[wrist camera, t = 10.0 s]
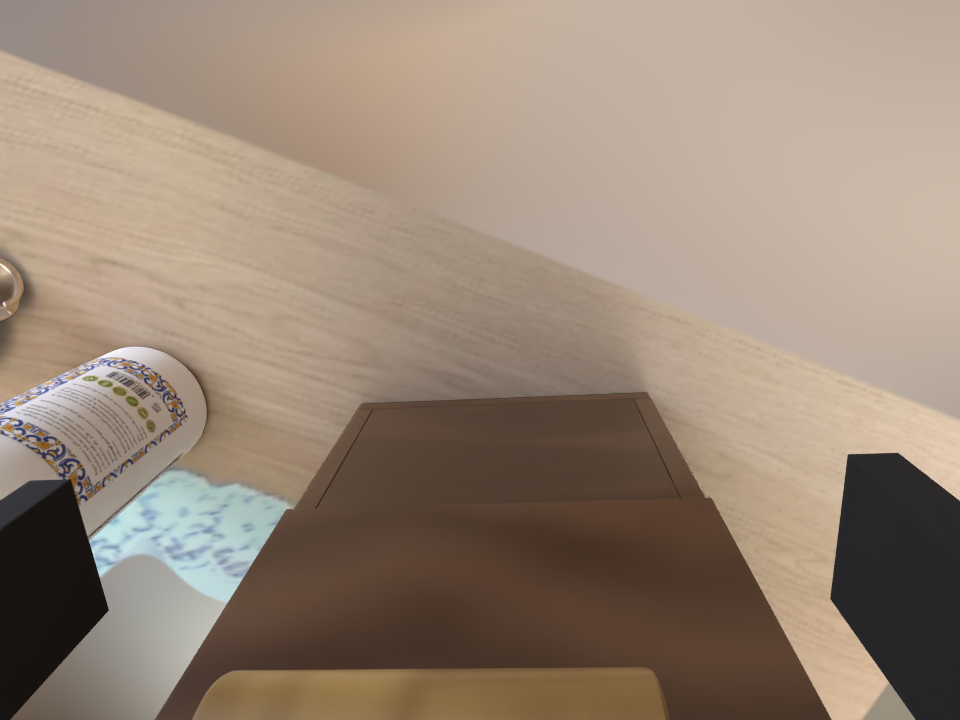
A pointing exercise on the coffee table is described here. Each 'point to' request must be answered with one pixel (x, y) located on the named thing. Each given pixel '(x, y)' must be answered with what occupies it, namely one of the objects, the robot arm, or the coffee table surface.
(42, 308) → the coffee table surface
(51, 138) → the coffee table surface
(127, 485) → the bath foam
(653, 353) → the coffee table surface
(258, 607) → the chest lid
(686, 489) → the chest
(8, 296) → the ornament
